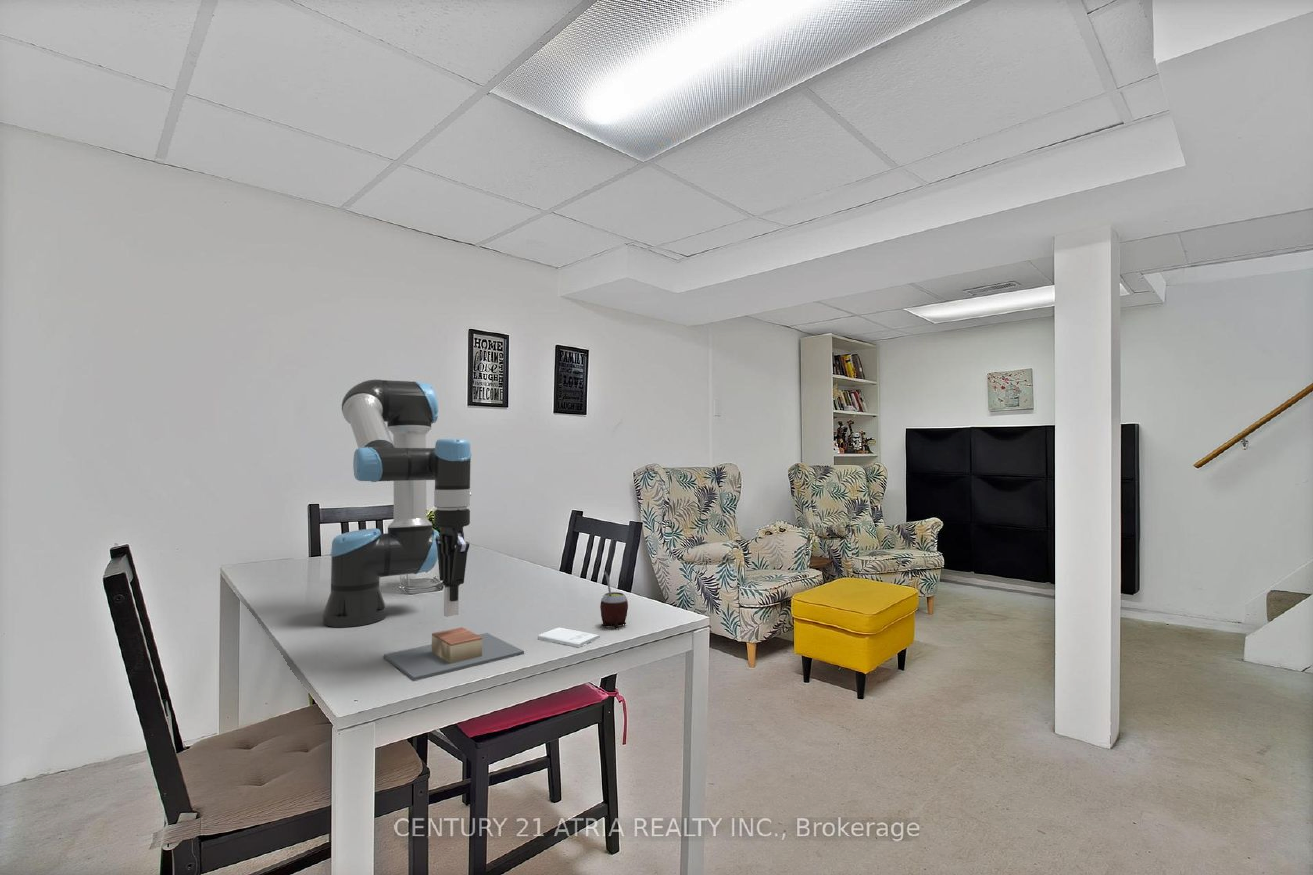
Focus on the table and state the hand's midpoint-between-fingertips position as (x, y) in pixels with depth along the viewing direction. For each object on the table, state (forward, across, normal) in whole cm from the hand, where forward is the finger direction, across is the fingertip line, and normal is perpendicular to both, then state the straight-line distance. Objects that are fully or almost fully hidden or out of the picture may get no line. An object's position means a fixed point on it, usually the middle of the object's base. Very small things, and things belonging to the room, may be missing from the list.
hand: (451, 614), depth 134 cm
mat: (+8, -2, 0) cm, 9 cm away
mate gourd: (+9, -7, -40) cm, 42 cm away
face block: (+6, +2, 0) cm, 6 cm away
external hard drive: (+9, -8, -26) cm, 28 cm away
